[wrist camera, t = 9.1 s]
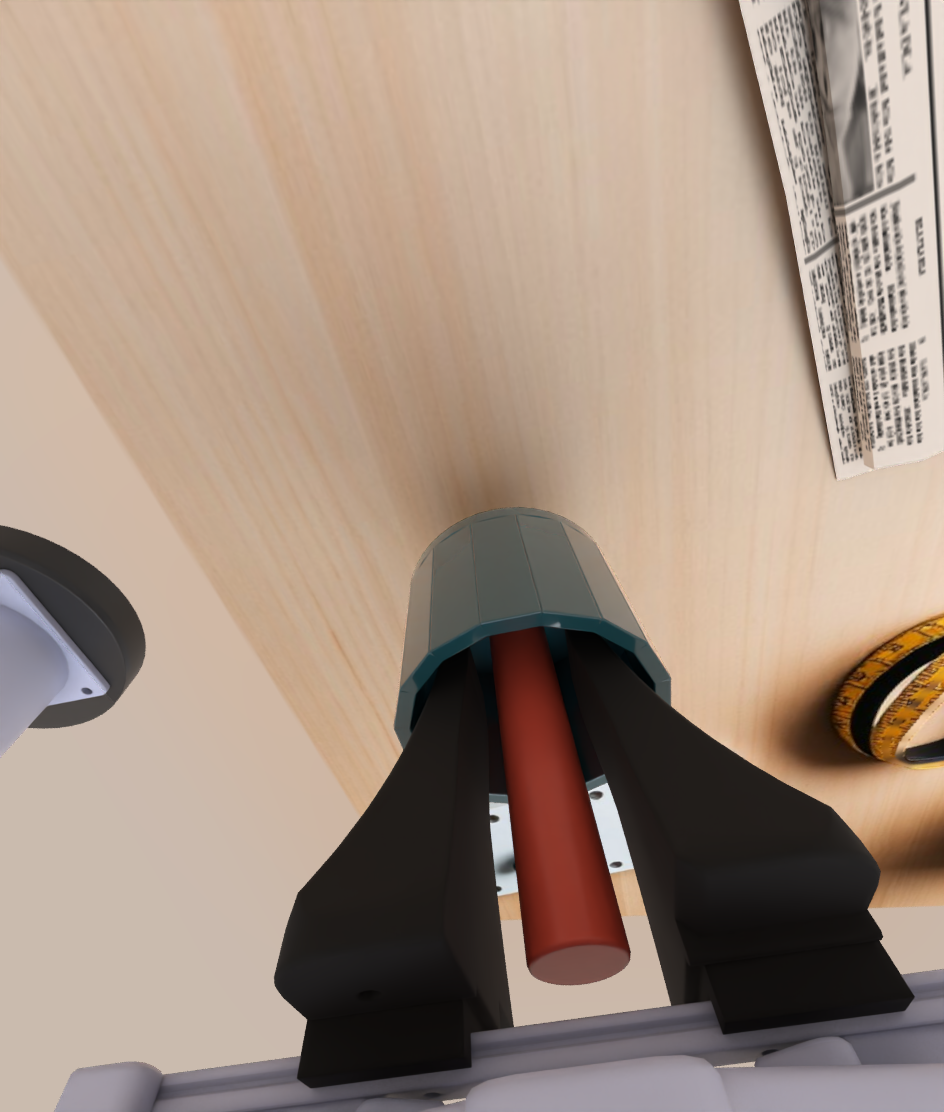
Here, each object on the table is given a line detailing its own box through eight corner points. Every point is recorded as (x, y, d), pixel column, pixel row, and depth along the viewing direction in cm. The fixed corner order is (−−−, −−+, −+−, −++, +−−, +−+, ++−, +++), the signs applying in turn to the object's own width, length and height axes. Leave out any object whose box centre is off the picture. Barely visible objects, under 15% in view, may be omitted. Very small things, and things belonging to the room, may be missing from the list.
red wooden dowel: (491, 632, 16) (535, 992, 8) (481, 592, 15) (520, 952, 7) (540, 622, 15) (634, 979, 8) (533, 581, 15) (629, 936, 7)
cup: (437, 684, 18) (434, 821, 13) (383, 531, 14) (356, 647, 10) (615, 651, 17) (671, 781, 13) (601, 485, 14) (672, 585, 10)
